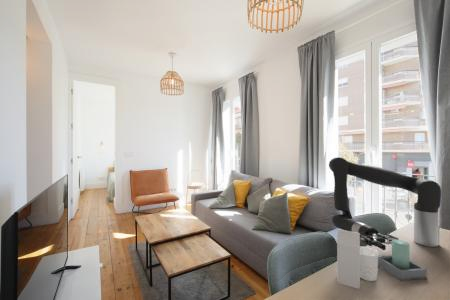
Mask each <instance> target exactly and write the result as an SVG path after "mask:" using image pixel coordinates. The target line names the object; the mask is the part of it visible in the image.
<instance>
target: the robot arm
mask: <svg viewBox="0 0 450 300" xmlns="http://www.w3.org/2000/svg"><path fill="white" fill-rule="evenodd" d="M328 168H329V169H330V170H331V171H332V174H333V178H334V188H333V189H334V190H333V200H334V203H333V205H334V209H335V210H337V211H340V212H341V214H340V213H339V214H334V215H333V216H332V218H331V223H332V224H333V225H334V227H336V228H337V229H339V230H345V231H351V232H357V233H360V242H363V243H364V244H366V245H367V246H369V247H373V246H374V247H376V248H379V249H381V250H382V251H386V249H387V248H386V247H387V246H386V245H392V240H400V239H399V238H398V237H396V236H394V235H392V234H389V233H385V234H383V233H380V232H378V229H376V228H375V227H372V226H370V225H368V224H366V223H364V222H360V221H359V220H356V219H353V216H352V213H351V211H350V207H349V197H348V196H349V195H348V175H349V176H353V177H355V178H357V179H361V180H363V181H366V182H370V183H372V184H376V185H379V186H384V187H389V188H390V187H391V188H398V189H402V190H405V191H408V192H411V193H414V194H416V195H417V202H415V203H414V204H413V241H414V242H415V243H416V244H418V245H421V246H425V247H431V248H432V247H433V248H434V247H435V248H436V247H438V246H440V239H441V237H440V235H441V233H440V230H441V229H440V228H441V227H440V226H439V209H440V207H441V201H442V200H441V198H442V189H441V186H440V184H439V183H438V182H436V181H434V180H431V179H427V178H421V177H415V176H408V175H405V174H401V173H399V172H396V171H393V170H391V169H387V168H383V167H378V166H374V165H369V164H367V165H366V164H360V163H355V162H352V161H349V160H347V159H345V158H344V157H339V156H338V157H334V158H332V159H331V160H330V161H329V163H328Z"/></svg>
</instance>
